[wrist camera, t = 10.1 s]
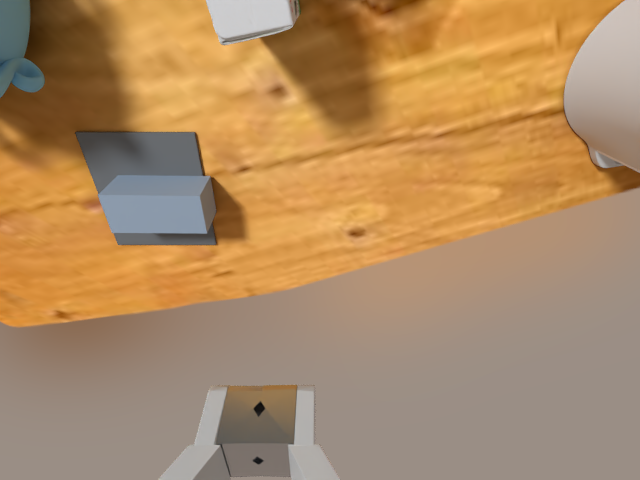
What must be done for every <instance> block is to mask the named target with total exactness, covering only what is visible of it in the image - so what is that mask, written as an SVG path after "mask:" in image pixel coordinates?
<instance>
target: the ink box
mask: <svg viewBox="0 0 640 480" xmlns="http://www.w3.org/2000/svg"><path fill="white" fill-rule="evenodd" d="M206 3H207V6H208V9H209V12H210V15H211V17H212V21H213V26H214V29H215V32H216V33H217V34H218V38H219V41H220V43H221V44H222V45H228V44H233V43H238V42H243V41H247V40H252V39H256V38H260V37H264V36H268V35H272V34H276V33H279V32H282V31H285V30H288V29H291V28H292V27H293V25H294V24H295V22H296V20H297V18H298V17H299V15H300V13H301V10H300V5H299V0H206Z"/></svg>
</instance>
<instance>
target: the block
mask: <svg viewBox="0 0 640 480" xmlns="http://www.w3.org/2000/svg"><path fill="white" fill-rule="evenodd" d="M98 197H99V200H100V202H101V205H102V208H103V210H104V213H105V215H106V218H107V221H108V223H109V226H110V229H111V231H112V233H198V234H207V233H208V230H209V228H210V226H211V223H212V221H213V219H214V216H215V214H216V212H217V211H216V205H215V200H214V194H213V188H212V182H211V177H210V176H147V175H118V176H117V177H116V178H115V179H114V180H113V181H112V182H111V183H110V184H109V185H108V186H107V187H106V188H104V189H103V190H102V191H101V192H100V193H99V194H98Z"/></svg>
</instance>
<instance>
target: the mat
mask: <svg viewBox="0 0 640 480" xmlns="http://www.w3.org/2000/svg"><path fill="white" fill-rule="evenodd" d="M75 134H76V136H77V139H78V141H79V144H80V147H81V149H82V152H83V154H84V157H85V160H86V162H87V165H88V167H89V170H90V173H91V175H92V178H93V181H94V183H95V186H96V188H97V191H98V194H99V193H100V192H101V191H102V190H103V189H104V188H106V187H107V186H108V185H109V184H110V183H111V182H112V181H113V180H114V179H115V178H116V177H117V176H118V175H147V176H203V171H202V166H201V161H200V155H199V150H198V145H197V140H196V135H195V132H76V133H75ZM114 235H115V238H116V241H117V243H118V245H216V238H215V233H214V228H213V223H211V226H210V228H209V230H208V233H207V234H198V233H114Z"/></svg>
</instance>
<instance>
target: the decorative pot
mask: <svg viewBox="0 0 640 480" xmlns="http://www.w3.org/2000/svg"><path fill="white" fill-rule="evenodd" d="M29 31H30V0H0V98H1V97H2V96H3V94H4V93H5V92H6V90H7V88H8V87H9V85H10V83H12V84H13V85H14V86H16V87H17V88H19V89H21V90H23V91H26V92H37V91H39V90H40V89H41V88H42V87H43V86H44V84H45V78H44V75H43V73H42V71H41V70H40V69H39V68H38V67H37V66H36V65H35V64H34V63H33V62H31V61H30V60H28V59H25V58H24V55H25V52H26V48H27V44H28V38H29Z"/></svg>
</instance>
